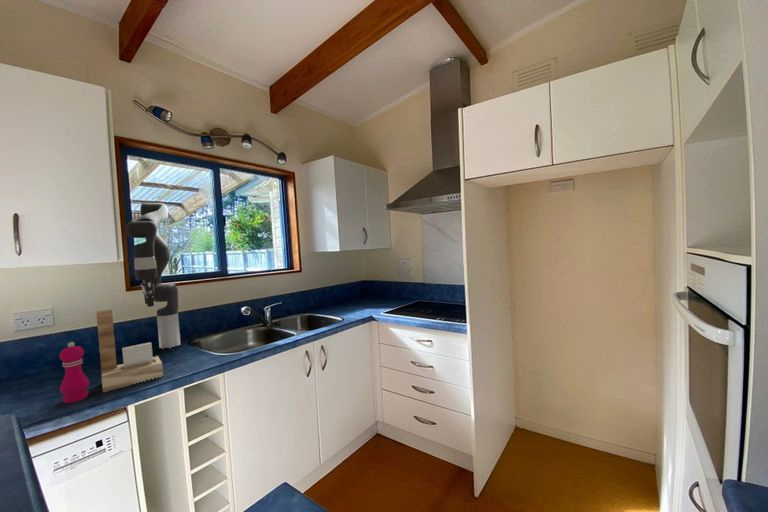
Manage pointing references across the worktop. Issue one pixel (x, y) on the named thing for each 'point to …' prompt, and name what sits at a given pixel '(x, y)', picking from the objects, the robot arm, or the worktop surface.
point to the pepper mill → (73, 374)
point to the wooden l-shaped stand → (112, 372)
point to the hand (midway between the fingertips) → (149, 305)
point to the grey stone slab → (137, 355)
